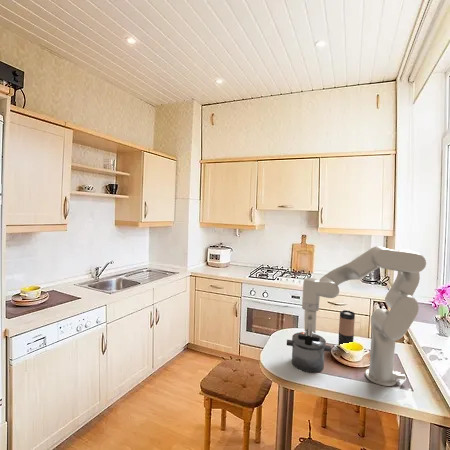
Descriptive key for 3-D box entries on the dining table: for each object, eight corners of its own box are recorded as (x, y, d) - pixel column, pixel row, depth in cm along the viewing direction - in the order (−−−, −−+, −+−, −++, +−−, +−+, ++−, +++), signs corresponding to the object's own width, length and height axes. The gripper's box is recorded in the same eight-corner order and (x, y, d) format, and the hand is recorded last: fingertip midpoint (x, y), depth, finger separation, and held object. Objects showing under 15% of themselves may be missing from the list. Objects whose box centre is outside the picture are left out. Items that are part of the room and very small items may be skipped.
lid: (324, 337, 151) (324, 331, 150) (326, 351, 135) (326, 345, 135) (293, 332, 155) (293, 326, 155) (291, 346, 139) (291, 339, 139)
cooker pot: (328, 358, 151) (329, 337, 150) (330, 376, 135) (332, 353, 134) (287, 352, 157) (288, 332, 156) (284, 368, 141) (285, 346, 140)
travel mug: (354, 352, 159) (356, 315, 157) (339, 350, 160) (341, 314, 159) (351, 345, 166) (353, 310, 165) (336, 344, 168) (338, 309, 166)
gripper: (319, 312, 129) (317, 352, 130) (318, 301, 144) (316, 338, 145) (301, 309, 131) (299, 350, 132) (302, 299, 146) (300, 336, 147)
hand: (308, 344), depth 139 cm, fingers closed
